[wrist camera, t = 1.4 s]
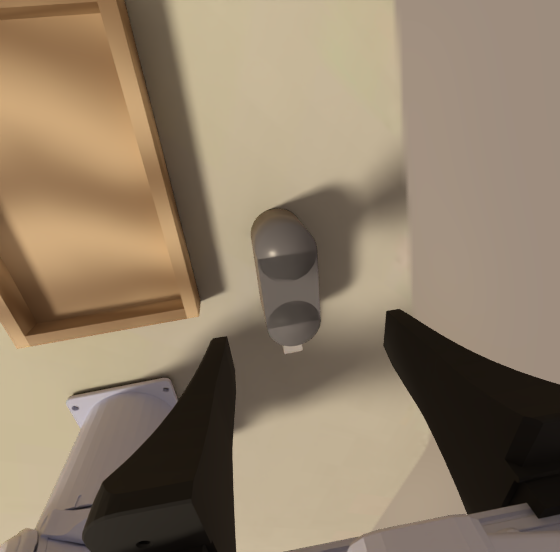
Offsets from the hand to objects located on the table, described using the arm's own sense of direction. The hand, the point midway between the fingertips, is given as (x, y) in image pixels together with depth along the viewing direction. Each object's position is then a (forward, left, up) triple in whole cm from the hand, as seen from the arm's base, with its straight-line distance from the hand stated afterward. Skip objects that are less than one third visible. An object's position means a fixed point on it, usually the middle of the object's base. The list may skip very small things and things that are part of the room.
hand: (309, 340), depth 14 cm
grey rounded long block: (-1, 0, -10) cm, 10 cm away
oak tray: (+6, +12, -10) cm, 16 cm away
